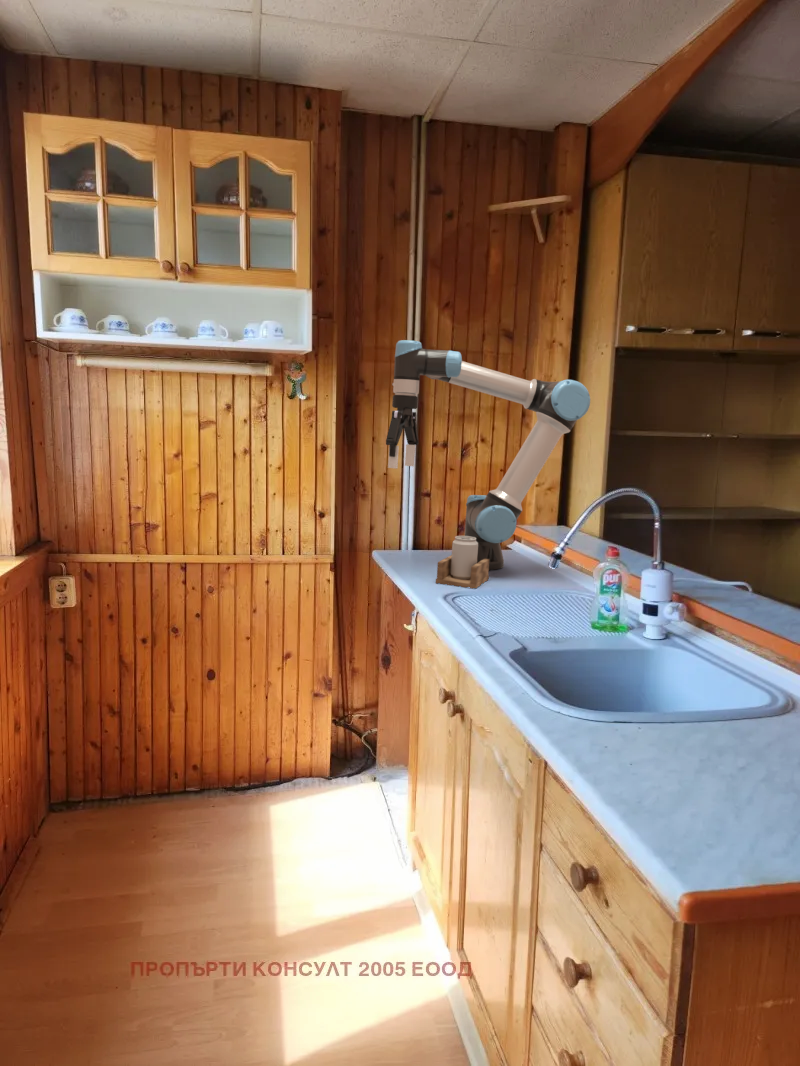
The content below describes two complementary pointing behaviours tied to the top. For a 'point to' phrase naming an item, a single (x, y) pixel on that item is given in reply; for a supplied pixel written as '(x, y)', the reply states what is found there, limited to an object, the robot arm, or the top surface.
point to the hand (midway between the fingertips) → (401, 467)
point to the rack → (477, 578)
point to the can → (463, 556)
